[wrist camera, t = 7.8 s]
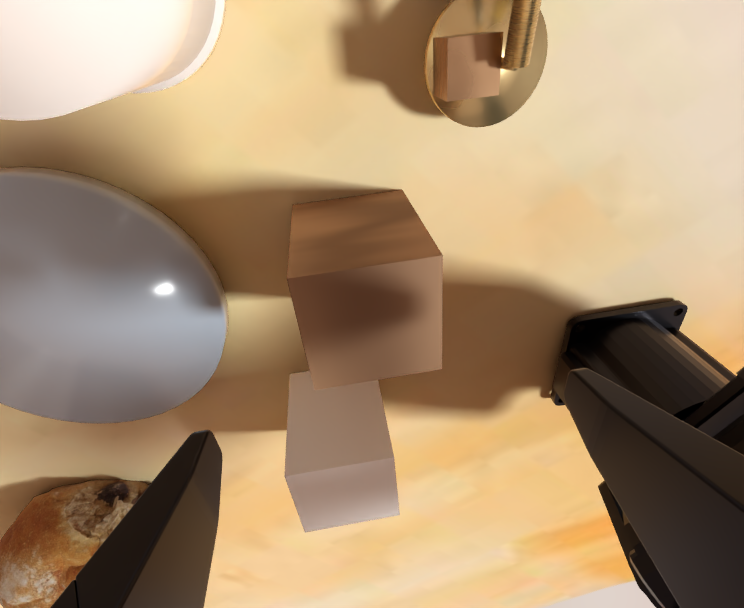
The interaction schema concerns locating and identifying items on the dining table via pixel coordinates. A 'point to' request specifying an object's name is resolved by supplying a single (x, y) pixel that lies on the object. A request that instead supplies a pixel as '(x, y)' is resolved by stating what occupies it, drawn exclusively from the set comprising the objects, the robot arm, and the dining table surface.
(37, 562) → the bread roll
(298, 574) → the dining table surface
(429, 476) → the dining table surface
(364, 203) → the walnut block
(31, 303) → the dish
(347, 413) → the beige block
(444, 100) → the balance
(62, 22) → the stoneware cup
